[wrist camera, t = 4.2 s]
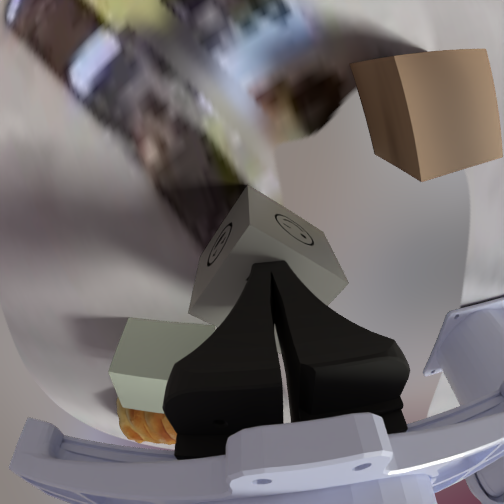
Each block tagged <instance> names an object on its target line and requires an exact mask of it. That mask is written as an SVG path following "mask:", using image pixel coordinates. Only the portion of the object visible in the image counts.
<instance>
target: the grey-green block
mask: <svg viewBox="0 0 504 504" xmlns="http://www.w3.org/2000/svg"><path fill="white" fill-rule="evenodd" d="M214 331H215V326H214V325H203V324H190V323H178V322H167V321H157V320H147V319H138V318H130V317H129V318H128V321H127V323H126V326H125V328H124V331H123V334H122V336H121V339H120V341H119V344H118V347H117V349H116V352H115V355H114V357H113V360H112V363H111V365H110V368H109V371H108V372H109V375H110V378H111V380H112V383H113V385H114V388H115V390H116V393H117V395H118V398H119V400H120V402H121V405H122V407H124V408H129V409H135V410H141V411H148V412H155V413H163V414H164V411H163V408H162V407H163V400H164V394H165V388H166V385H167V381H168V379H169V376H170V373H171V371H172V368H173V366H174V364H175V363H176V362H178V361H180V360H181V359H182V358H184V357H185V356H187V355H188V354H190V353H191V352H192V351H194V350H195V349H196V348H198V347H199V346H200V345H201V344H202V343H203V342H204V341H205V340H206V339H207V338H209V337H210V336H211V335H212V334H213V332H214Z"/></svg>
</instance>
